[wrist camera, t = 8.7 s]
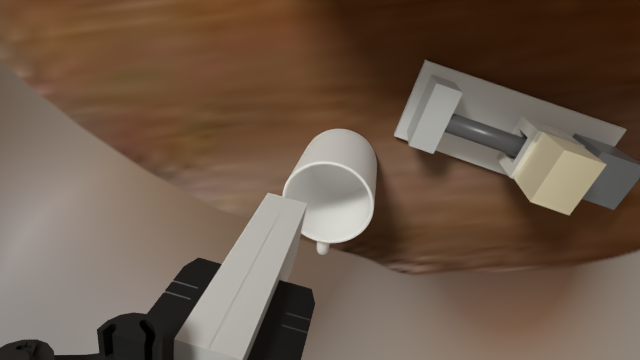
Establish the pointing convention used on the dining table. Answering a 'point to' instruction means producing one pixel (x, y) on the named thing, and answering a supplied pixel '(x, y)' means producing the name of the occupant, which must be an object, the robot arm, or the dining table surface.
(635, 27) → the dining table surface
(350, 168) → the cup
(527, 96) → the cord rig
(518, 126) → the sleeve
